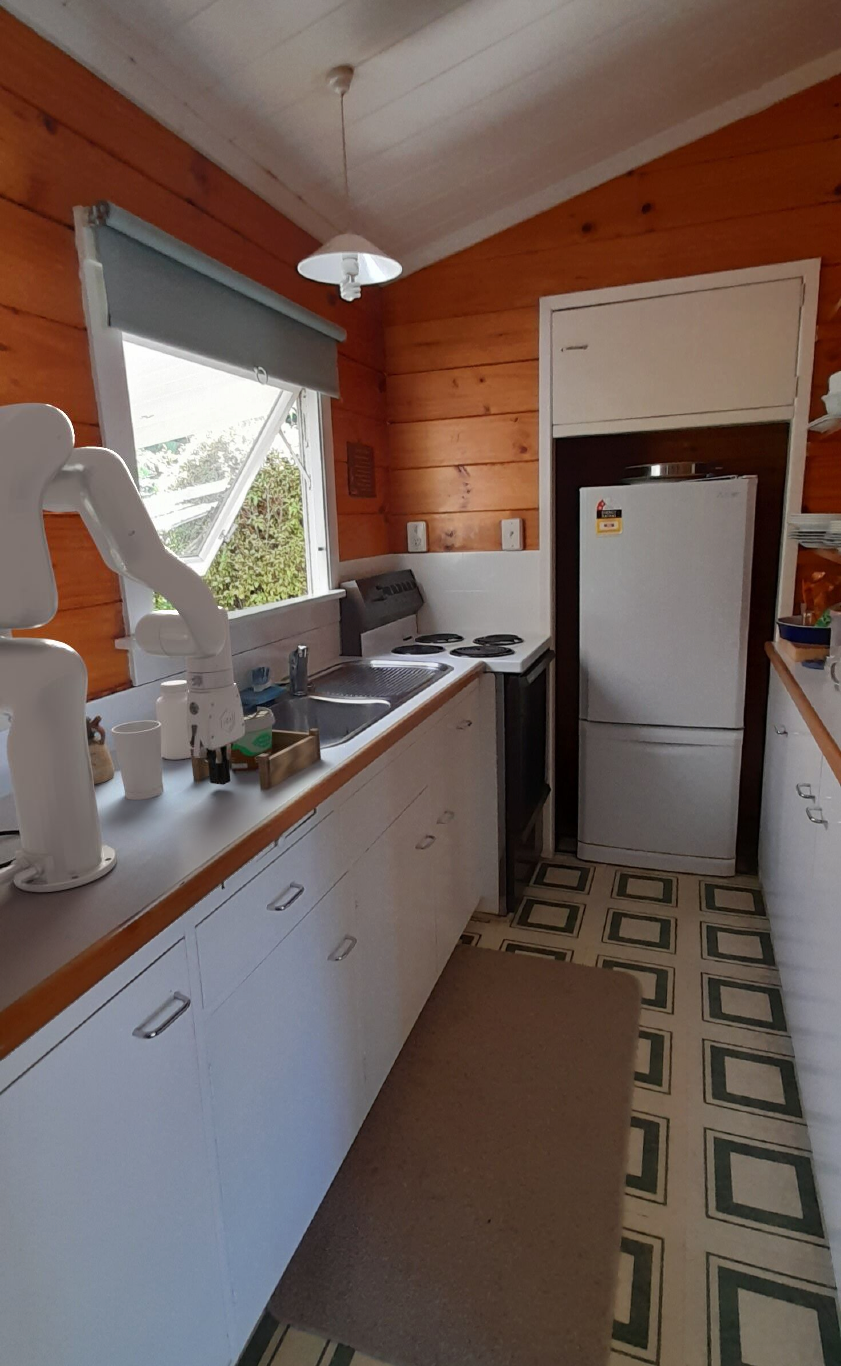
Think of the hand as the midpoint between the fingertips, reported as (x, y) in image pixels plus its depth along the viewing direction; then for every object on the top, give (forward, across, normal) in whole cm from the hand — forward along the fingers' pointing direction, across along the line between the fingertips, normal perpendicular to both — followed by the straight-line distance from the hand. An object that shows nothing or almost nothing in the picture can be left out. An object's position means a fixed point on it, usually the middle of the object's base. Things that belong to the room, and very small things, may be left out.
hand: (220, 782), depth 128 cm
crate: (+1, +11, 0) cm, 11 cm away
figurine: (+2, -3, +27) cm, 27 cm away
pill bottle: (+1, +14, +21) cm, 26 cm away
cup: (+2, -6, +12) cm, 13 cm away
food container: (+1, +14, +1) cm, 14 cm away
